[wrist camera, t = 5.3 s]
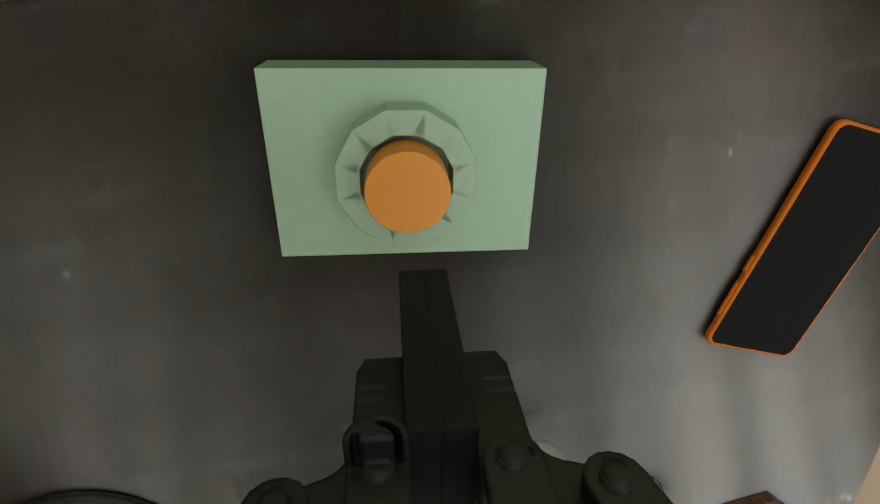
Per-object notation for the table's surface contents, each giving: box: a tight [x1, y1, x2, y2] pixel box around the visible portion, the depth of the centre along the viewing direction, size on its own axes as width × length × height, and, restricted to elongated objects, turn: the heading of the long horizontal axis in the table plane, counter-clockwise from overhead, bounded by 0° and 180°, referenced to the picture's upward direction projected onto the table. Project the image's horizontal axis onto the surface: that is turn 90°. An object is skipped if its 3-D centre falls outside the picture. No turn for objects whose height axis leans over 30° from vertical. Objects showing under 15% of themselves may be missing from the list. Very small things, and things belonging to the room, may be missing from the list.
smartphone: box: [705, 119, 880, 356], centre depth 34 cm, size 8×17×1 cm, turn 165°
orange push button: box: [364, 140, 451, 233], centre depth 24 cm, size 4×4×2 cm
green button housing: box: [254, 60, 547, 257], centre depth 27 cm, size 14×10×5 cm
